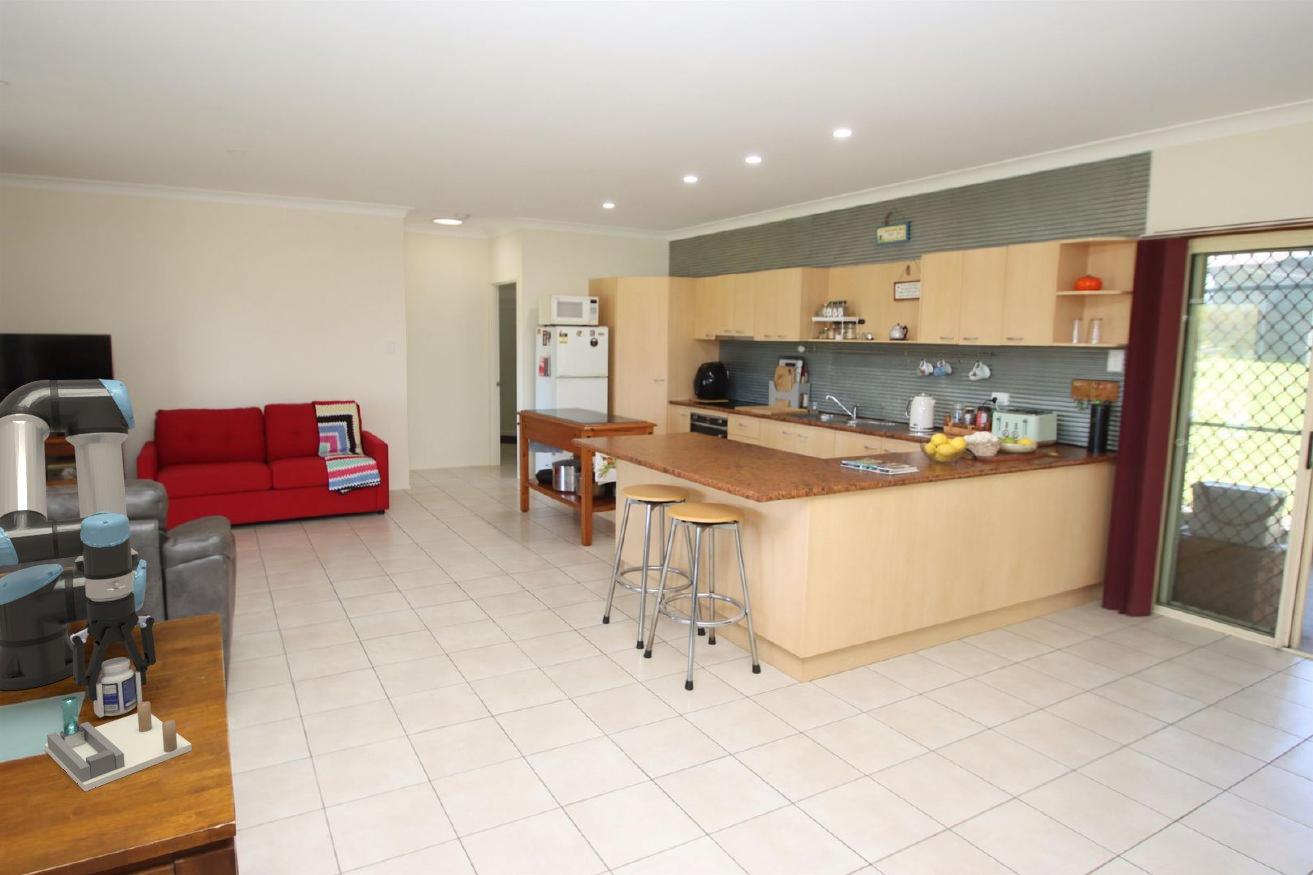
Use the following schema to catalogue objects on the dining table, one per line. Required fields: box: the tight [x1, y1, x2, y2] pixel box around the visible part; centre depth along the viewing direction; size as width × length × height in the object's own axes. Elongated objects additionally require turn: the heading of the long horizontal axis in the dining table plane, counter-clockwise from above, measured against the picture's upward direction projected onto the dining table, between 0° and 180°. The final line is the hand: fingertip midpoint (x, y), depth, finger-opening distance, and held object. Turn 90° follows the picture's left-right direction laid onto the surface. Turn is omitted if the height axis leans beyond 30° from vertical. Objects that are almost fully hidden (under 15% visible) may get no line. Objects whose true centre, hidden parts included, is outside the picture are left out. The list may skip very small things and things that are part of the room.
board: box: [44, 701, 193, 792], centre depth 134 cm, size 20×16×6 cm
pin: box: [58, 696, 85, 748], centre depth 134 cm, size 3×3×8 cm
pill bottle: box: [97, 656, 137, 717], centre depth 147 cm, size 6×6×10 cm
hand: (118, 707), depth 148 cm, fingers closed on pill bottle, 6 cm apart
